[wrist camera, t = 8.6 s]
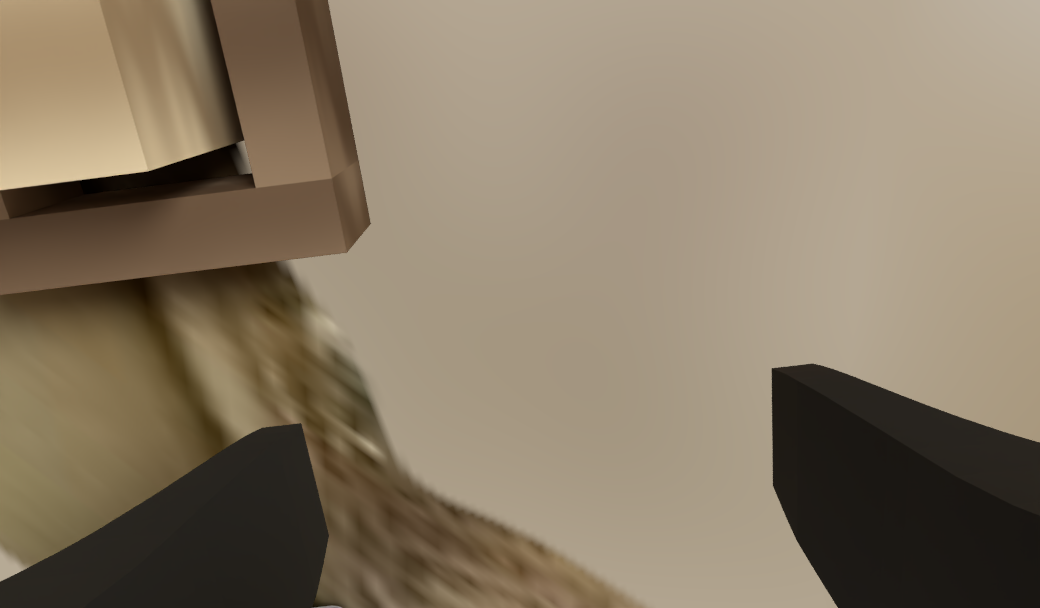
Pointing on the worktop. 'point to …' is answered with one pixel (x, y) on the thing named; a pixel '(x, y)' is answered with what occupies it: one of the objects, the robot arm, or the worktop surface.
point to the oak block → (109, 88)
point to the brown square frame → (217, 201)
